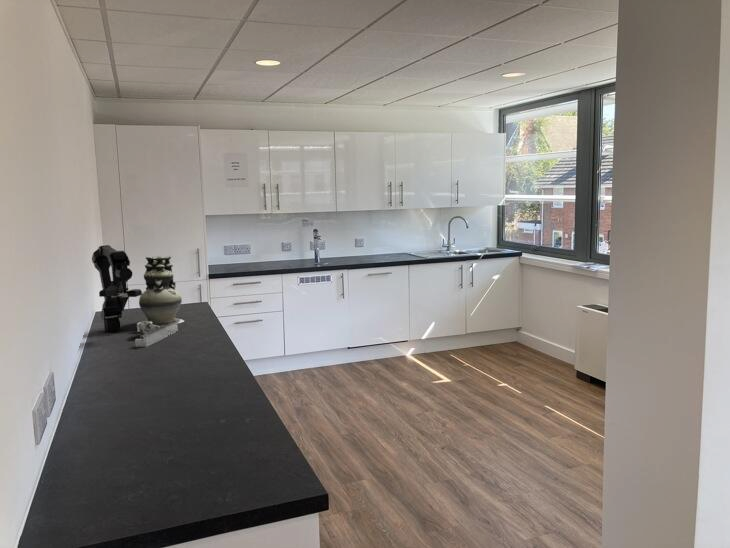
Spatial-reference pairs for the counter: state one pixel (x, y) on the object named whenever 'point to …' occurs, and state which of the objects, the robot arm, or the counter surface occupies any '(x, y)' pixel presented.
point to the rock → (146, 328)
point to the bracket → (157, 334)
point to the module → (139, 323)
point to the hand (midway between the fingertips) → (122, 311)
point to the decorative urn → (160, 292)
